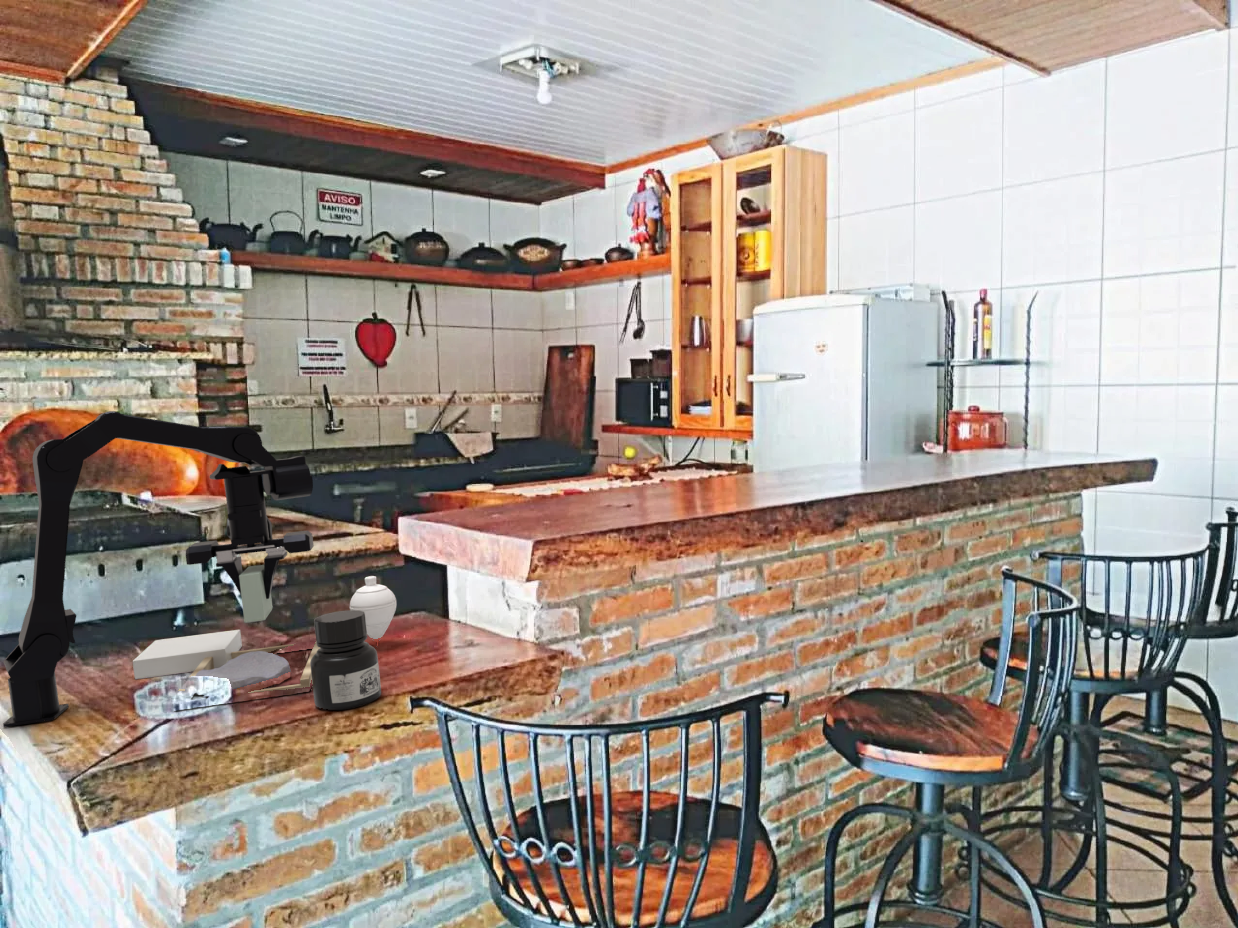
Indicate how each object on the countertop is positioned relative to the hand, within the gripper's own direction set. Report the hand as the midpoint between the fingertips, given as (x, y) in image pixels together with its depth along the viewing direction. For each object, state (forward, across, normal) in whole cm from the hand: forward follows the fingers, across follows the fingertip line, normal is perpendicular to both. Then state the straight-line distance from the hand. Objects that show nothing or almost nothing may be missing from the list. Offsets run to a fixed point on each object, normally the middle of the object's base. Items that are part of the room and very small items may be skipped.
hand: (257, 599), depth 153 cm
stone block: (+11, +1, +12) cm, 16 cm away
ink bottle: (+11, -15, +27) cm, 33 cm away
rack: (+11, 0, +7) cm, 13 cm away
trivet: (+11, +13, -9) cm, 19 cm away
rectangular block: (+3, 0, 0) cm, 3 cm away
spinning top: (+11, -18, -2) cm, 21 cm away
